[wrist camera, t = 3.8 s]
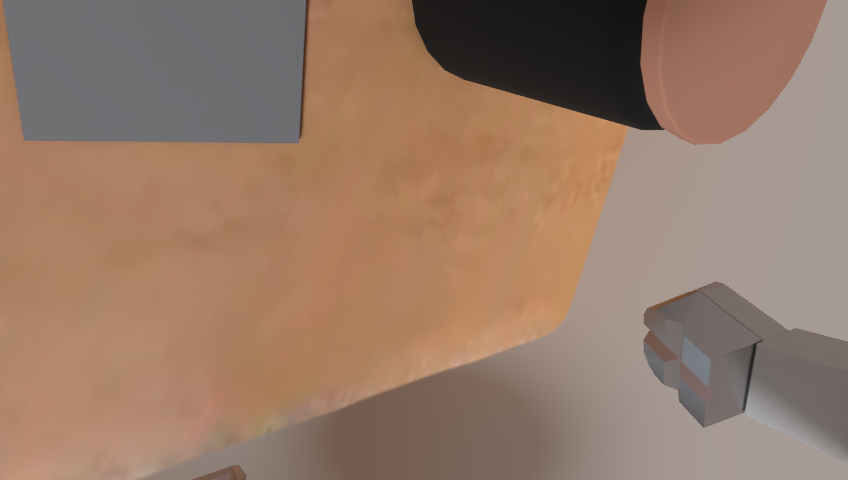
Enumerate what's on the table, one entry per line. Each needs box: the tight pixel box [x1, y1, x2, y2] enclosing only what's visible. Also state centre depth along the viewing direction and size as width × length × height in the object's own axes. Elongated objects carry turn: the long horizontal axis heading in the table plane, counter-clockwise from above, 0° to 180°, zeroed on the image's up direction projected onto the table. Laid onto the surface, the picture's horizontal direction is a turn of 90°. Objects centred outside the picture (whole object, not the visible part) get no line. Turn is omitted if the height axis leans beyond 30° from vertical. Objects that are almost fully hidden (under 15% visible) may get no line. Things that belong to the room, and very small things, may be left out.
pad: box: [3, 0, 306, 143], centre depth 25 cm, size 13×13×1 cm
